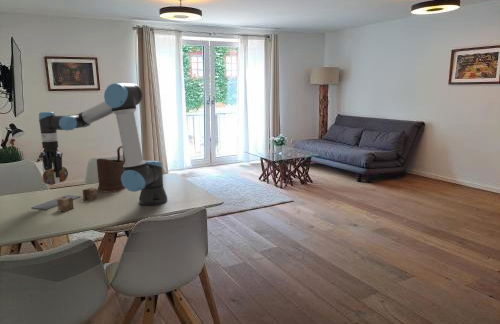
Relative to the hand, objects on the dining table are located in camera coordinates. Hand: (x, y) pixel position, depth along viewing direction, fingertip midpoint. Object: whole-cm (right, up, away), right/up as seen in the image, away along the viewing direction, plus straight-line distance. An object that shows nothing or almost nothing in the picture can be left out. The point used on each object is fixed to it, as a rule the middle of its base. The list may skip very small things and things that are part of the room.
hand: (54, 182), depth 200 cm
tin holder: (+14, -12, -1) cm, 18 cm away
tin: (0, 0, +1) cm, 1 cm away
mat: (0, -11, +2) cm, 11 cm away
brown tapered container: (+21, -5, +34) cm, 40 cm away
